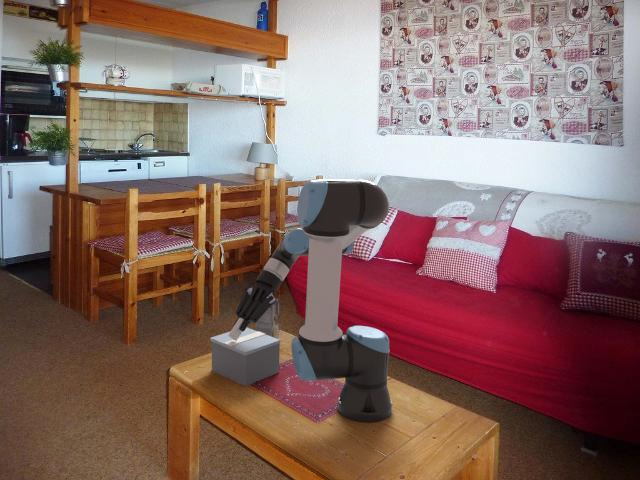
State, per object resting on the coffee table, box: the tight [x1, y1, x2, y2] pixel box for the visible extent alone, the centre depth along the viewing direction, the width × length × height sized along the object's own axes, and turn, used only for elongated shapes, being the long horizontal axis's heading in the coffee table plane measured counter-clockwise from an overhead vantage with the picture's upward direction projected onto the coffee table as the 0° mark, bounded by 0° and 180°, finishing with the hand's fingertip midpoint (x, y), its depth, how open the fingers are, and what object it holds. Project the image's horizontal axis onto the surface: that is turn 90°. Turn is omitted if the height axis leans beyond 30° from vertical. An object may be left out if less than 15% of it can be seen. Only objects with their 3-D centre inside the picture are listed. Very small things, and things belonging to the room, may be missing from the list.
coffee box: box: [255, 298, 281, 340], centre depth 215 cm, size 9×6×16 cm
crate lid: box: [210, 327, 281, 356], centre depth 191 cm, size 16×14×1 cm
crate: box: [211, 341, 281, 387], centre depth 193 cm, size 16×14×10 cm
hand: (232, 338), depth 188 cm, fingers closed
